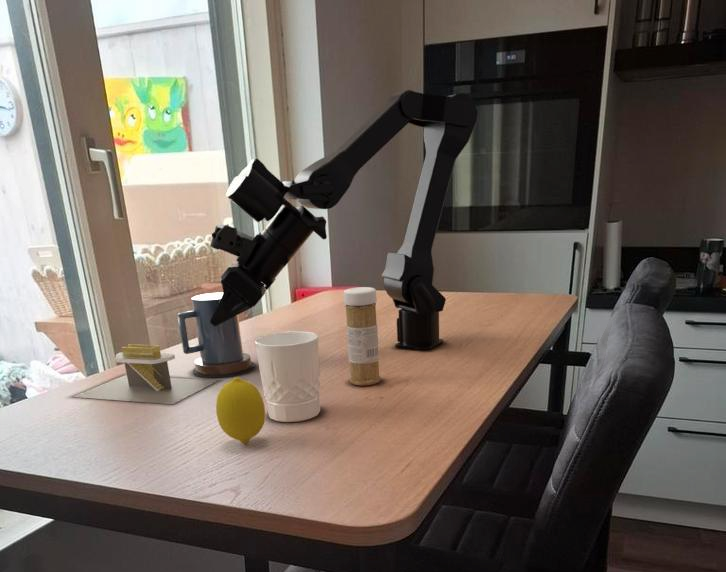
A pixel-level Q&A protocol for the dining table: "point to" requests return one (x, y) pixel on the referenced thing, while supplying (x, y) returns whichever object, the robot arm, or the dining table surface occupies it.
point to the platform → (146, 379)
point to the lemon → (240, 410)
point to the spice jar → (362, 335)
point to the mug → (214, 339)
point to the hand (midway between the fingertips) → (218, 318)
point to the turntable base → (224, 375)
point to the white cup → (290, 374)
